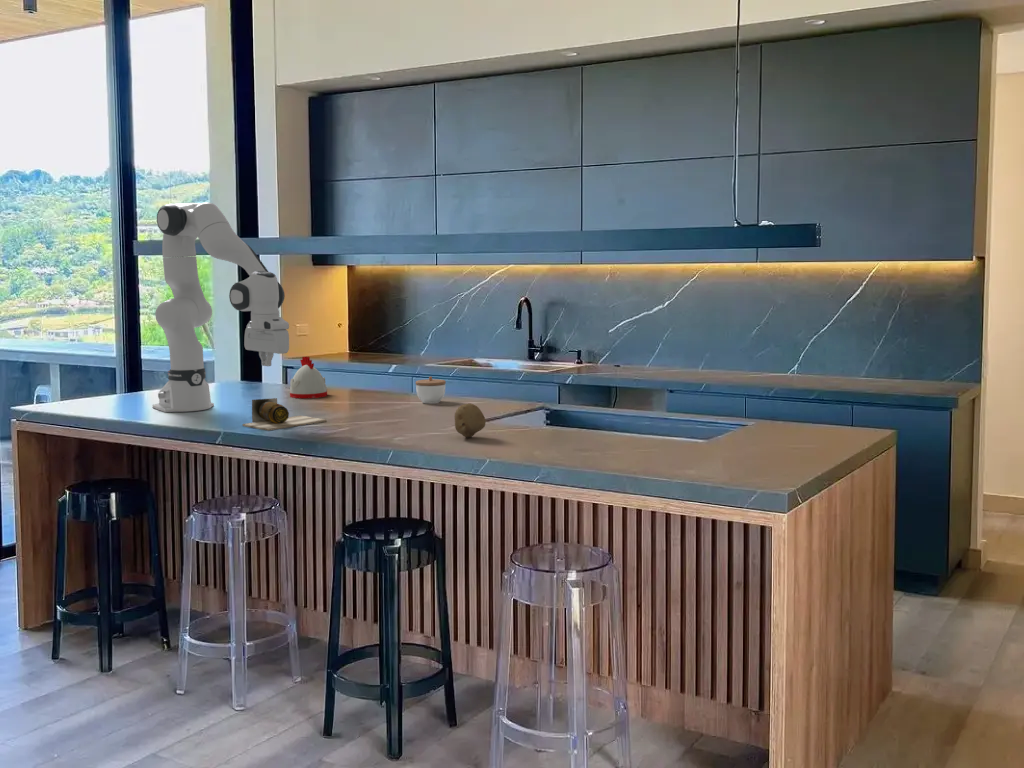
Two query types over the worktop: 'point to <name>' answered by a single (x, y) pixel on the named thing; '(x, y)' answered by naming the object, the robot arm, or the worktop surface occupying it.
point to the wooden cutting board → (284, 423)
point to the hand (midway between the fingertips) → (266, 365)
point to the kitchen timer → (307, 381)
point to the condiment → (268, 411)
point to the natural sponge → (469, 420)
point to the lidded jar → (430, 390)
